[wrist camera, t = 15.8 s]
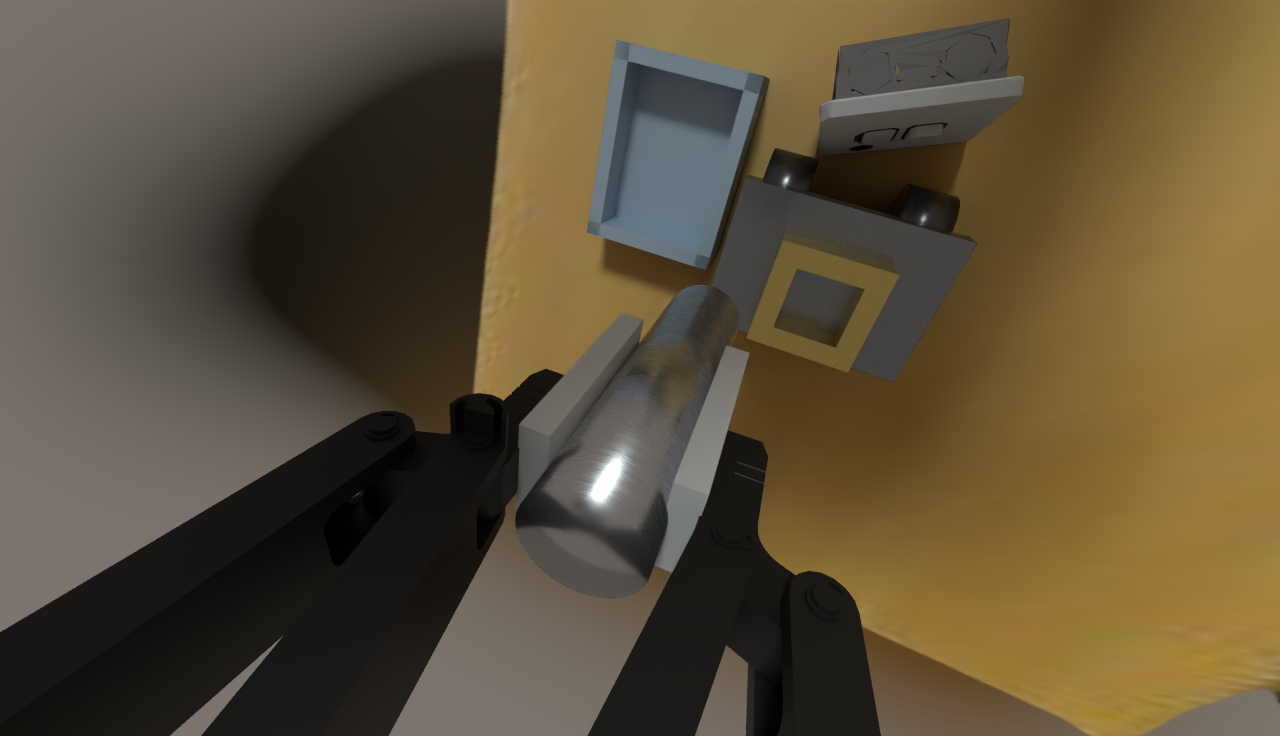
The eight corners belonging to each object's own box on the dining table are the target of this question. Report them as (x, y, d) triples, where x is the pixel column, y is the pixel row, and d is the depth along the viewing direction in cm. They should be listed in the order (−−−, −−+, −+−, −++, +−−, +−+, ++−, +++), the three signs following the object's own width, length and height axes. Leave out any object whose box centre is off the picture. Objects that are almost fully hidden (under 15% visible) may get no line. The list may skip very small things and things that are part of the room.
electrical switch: (817, 156, 35) (817, 154, 27) (820, 73, 33) (822, 44, 25) (968, 141, 32) (1022, 134, 24) (982, 49, 30) (1044, 7, 22)
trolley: (764, 141, 35) (750, 151, 28) (963, 194, 33) (1005, 221, 26) (712, 305, 42) (689, 348, 35) (873, 358, 40) (885, 417, 33)
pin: (675, 275, 19) (518, 467, 9) (749, 297, 19) (666, 525, 9) (660, 340, 21) (512, 563, 11) (727, 362, 20) (637, 617, 10)
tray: (635, 46, 35) (616, 39, 32) (769, 78, 33) (764, 76, 30) (605, 222, 42) (587, 232, 39) (715, 256, 40) (706, 270, 37)
